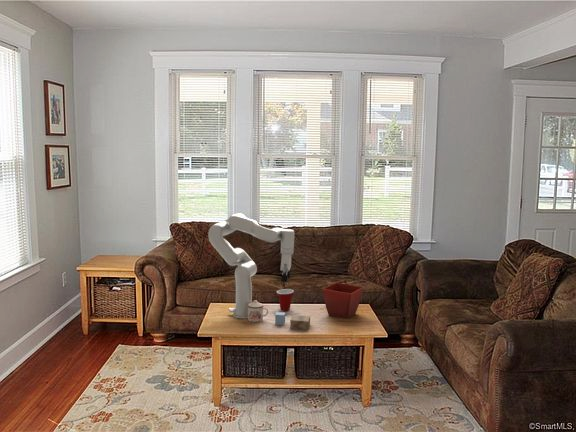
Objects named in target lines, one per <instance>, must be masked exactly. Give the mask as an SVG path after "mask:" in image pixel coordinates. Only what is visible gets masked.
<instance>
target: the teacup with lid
mask: <svg viewBox="0 0 576 432" xmlns="http://www.w3.org/2000/svg"><path fill="white" fill-rule="evenodd" d="M264 310H266V314H264ZM268 314H269V310H268V308H267V307H264V303H260V302H258V300H257V299H256V300H255V299H254V300H253V301H252V303H249V304H248V318H247V320H248V322H251V323H252V322H253V323H260V322H262V321H263V318H264V317H266V316H267V315H268Z"/></svg>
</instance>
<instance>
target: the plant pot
mask: <svg viewBox="0 0 576 432" xmlns="http://www.w3.org/2000/svg"><path fill="white" fill-rule="evenodd" d="M321 291H322V295H323V301H324V305H325V309H326V311H327V314H328V316H332V317H337V318H342V319H349V318H350V317H353V316H354V315H355V314H356V313H357V311H358V308H359V306H360V302H361V299H362V294H363V291H364V287H363V286H359V285H352V284H346V283H341V282H334V283H332V284H330V285H328V286H326V287H323V288H322V290H321Z"/></svg>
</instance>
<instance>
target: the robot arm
mask: <svg viewBox="0 0 576 432" xmlns="http://www.w3.org/2000/svg"><path fill="white" fill-rule="evenodd" d="M236 231H240V232H242V233H246V234H249V235H251V236H253V237H255V238H257V239H259V240H261V241H264V242H267V243H276V242H277V241H280V254H281V259H280V260H281V261H280V271H282V273H281V282H282V283H288V279H290V278H291V277H290V276H291V267H292V255H293V254H294V250H295V230H294V229H290V228H282V227H273V228H268V227H265V226H262V225H260V224H258V222H257V220H255V219H251V218H248V217H247V216H246V215H245V214H243V213H241V212H239V213H234V214H231V215H230V216H229V217H228V218H227V219H225V220H224V221H221V222H216V223H214V224H213V225H211V227H210V228H209V230H208V232H207V233H208V236H207V237H208V240H209V243H210V244H211V246H212V247H213V248H214V249H215V250H216V251H217V253H218V254H219V256H221V257H222V259H223V260H224V261H225V262H226V263H227V265H229V266H232V267H234V266H236V268H235V270H234V278H235V307H233V308H232V307H228V312H229V313H232V317H234V318H236V319H244V320H245V319H248V304H249V303H252V302H253V300H252V299H253V298H252V296H253V294H252V293H253V284H252V277H253V276H255V275H256V273H257V271H258V267H257V264H256V262H254V261H253V259H252V258H251V257H250V255H248V253H247V252H246V250H244V249H243V248H241V247H233V246H232V245H231V243H230V242H229V241H228V240H227V239H226V238H224V237H225V236H228V235H230V234H232V233H234V232H236Z"/></svg>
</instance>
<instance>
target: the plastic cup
mask: <svg viewBox="0 0 576 432" xmlns="http://www.w3.org/2000/svg"><path fill="white" fill-rule="evenodd" d="M276 293H277V296H278V302H279V303H278V304H279V308H280V310H281V311H290V309H291V304H292V299H293V293H294V289H291V288H285V289H284V288H283V289H278V290H276Z"/></svg>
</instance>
